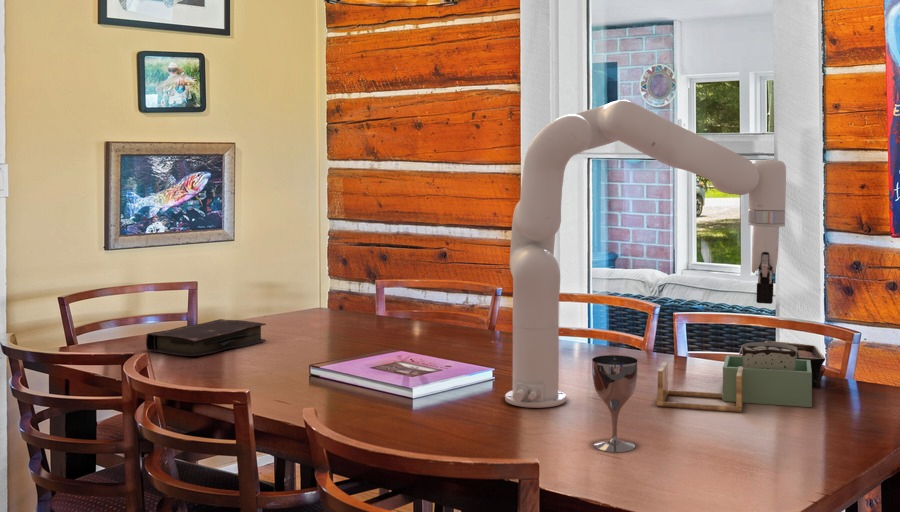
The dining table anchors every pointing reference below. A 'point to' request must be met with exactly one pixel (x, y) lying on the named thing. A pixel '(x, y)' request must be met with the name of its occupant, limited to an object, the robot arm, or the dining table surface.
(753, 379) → the tub
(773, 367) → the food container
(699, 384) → the dining table surface
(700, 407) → the drying rack
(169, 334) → the diary
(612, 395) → the wine glass
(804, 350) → the dark brown tapered box
